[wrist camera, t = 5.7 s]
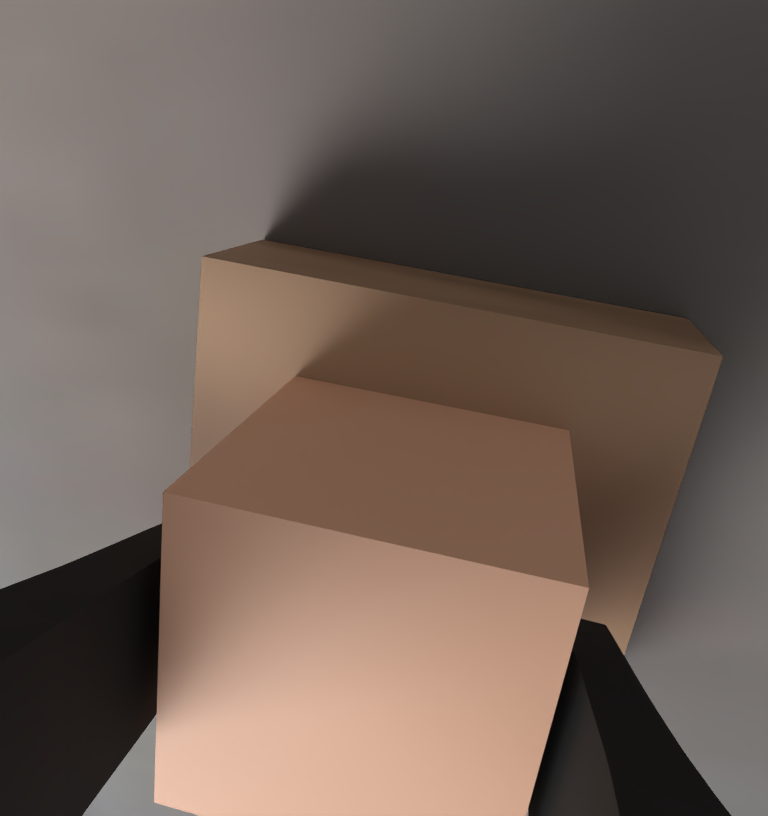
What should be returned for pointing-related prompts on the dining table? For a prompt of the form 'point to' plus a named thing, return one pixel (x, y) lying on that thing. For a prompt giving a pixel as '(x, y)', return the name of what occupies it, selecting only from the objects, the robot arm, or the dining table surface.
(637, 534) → the tan square slab
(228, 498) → the terracotta cube
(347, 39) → the dining table surface
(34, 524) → the dining table surface
